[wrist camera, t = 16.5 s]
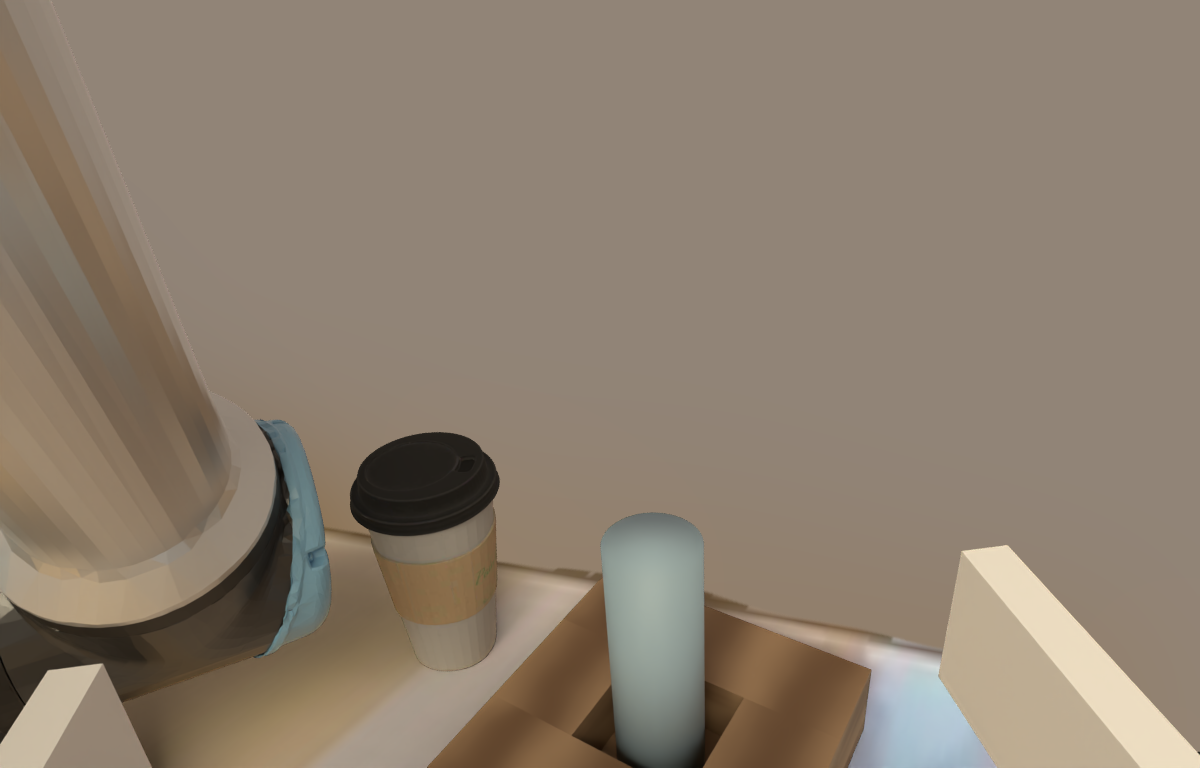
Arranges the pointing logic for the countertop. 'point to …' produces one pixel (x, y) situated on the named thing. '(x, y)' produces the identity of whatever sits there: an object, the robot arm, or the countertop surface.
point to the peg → (656, 639)
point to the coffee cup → (435, 541)
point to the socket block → (732, 701)
